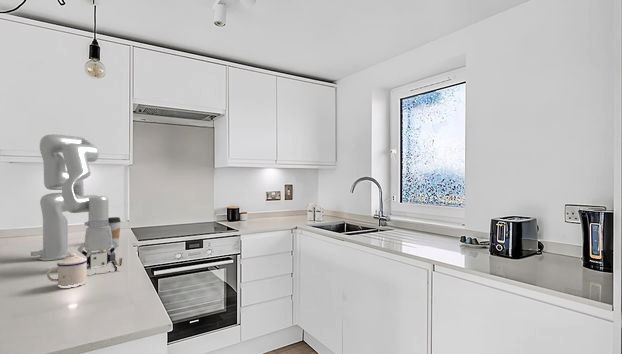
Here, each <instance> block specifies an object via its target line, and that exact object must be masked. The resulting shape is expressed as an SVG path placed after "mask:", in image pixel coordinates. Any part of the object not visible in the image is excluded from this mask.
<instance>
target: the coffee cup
mask: <svg viewBox="0 0 622 354" xmlns="http://www.w3.org/2000/svg"><path fill="white" fill-rule="evenodd" d="M108 226H110V227H111V232H112V240H113V241H114V242H115V243H117V244H119V242H120V233H121V218H120V217H118V216H117V217H115V216H113V217H108Z"/></svg>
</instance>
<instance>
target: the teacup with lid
mask: <svg viewBox="0 0 622 354" xmlns="http://www.w3.org/2000/svg"><path fill="white" fill-rule="evenodd" d="M70 253H71V254H69V257H66V258H64V259H59V260H58V262H56V263H57V264H56V266H57V267H56V266H55V267H52V268H50V269H48V270H47V272H46V277H47V279H48V280H49V281H51V282H57V286H58V285H61V286H68V285H74V284H78V283H82V282H84V281H86V280H87V277H88V276H87V274H88V273H87V271H88V270H87V269H88V267H87V265H88V264H87V257H81V256H80V255H77V254H76V253H75V252H74V253H73V252H70ZM56 270H57V279H56V278H55V279H54V278H52V277H51V276H50V273H51V272H52V271H56ZM87 281H88V280H87Z"/></svg>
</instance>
